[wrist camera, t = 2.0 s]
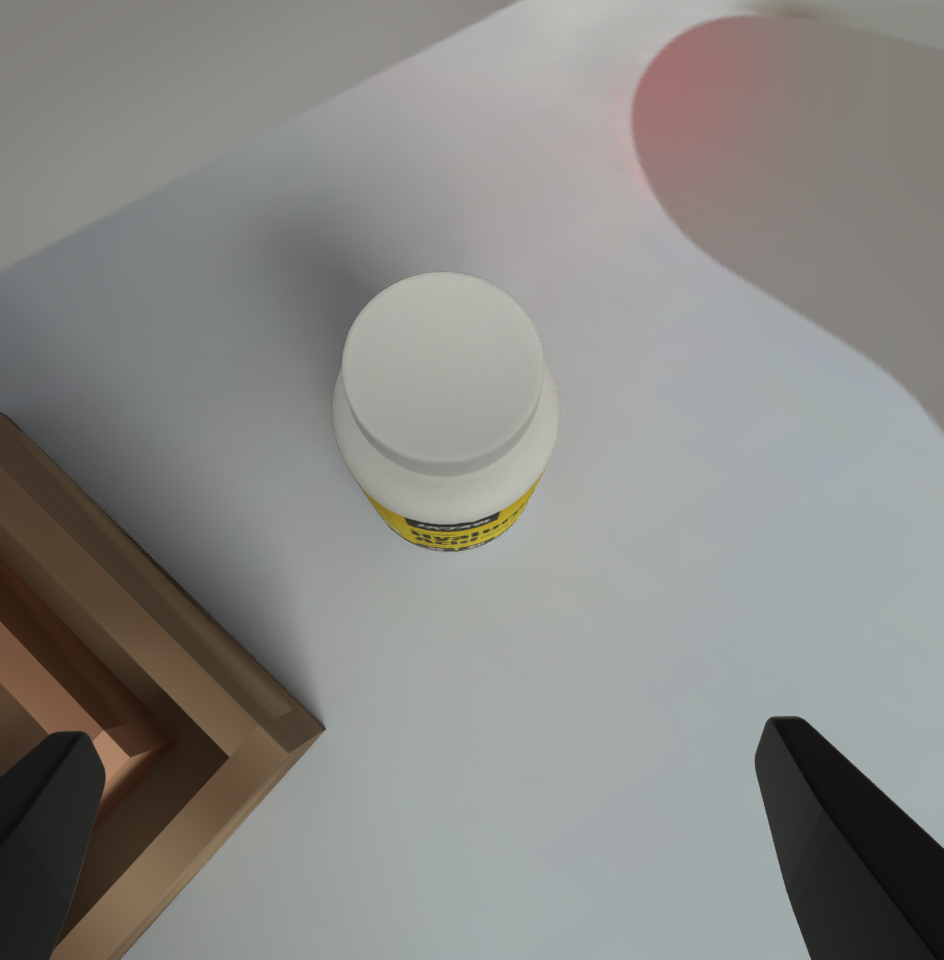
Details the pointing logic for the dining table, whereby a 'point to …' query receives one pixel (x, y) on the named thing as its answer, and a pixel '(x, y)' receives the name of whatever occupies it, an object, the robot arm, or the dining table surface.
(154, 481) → the dining table surface
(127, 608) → the box
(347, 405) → the supplement bottle
